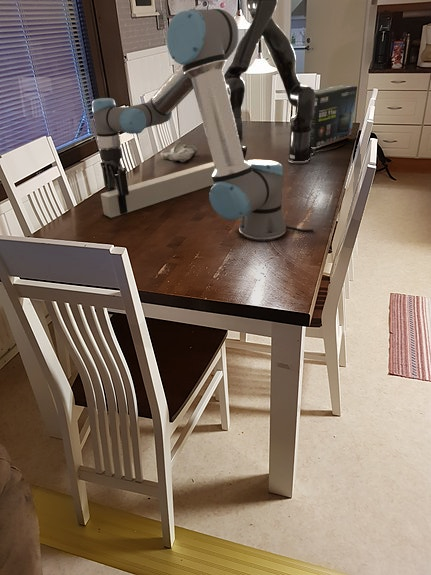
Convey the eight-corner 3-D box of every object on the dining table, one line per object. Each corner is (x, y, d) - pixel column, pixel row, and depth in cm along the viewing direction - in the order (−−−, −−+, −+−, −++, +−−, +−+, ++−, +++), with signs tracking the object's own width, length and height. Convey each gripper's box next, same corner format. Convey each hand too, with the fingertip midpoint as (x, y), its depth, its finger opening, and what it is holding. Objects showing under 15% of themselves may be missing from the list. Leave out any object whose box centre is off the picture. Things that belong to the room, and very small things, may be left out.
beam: (111, 217, 165) (107, 197, 161) (103, 214, 168) (100, 194, 164) (246, 173, 204) (246, 156, 200) (238, 171, 207) (238, 154, 203)
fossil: (184, 156, 217) (163, 136, 220) (174, 174, 223) (154, 154, 227) (205, 153, 231) (186, 134, 234) (195, 171, 237) (176, 152, 240)
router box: (314, 151, 231) (318, 94, 217) (296, 148, 237) (299, 92, 224) (352, 138, 251) (358, 85, 238) (335, 135, 258) (340, 83, 245)
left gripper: (133, 149, 154) (141, 214, 166) (106, 140, 165) (115, 202, 177) (114, 153, 149) (124, 220, 161) (87, 144, 161) (98, 207, 173)
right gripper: (252, 129, 189) (251, 169, 198) (228, 124, 199) (229, 163, 207) (239, 132, 185) (239, 173, 194) (215, 127, 195) (216, 167, 203)
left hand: (119, 210), depth 169 cm, fingers closed on beam, 5 cm apart
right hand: (234, 168), depth 201 cm, fingers closed on beam, 5 cm apart
